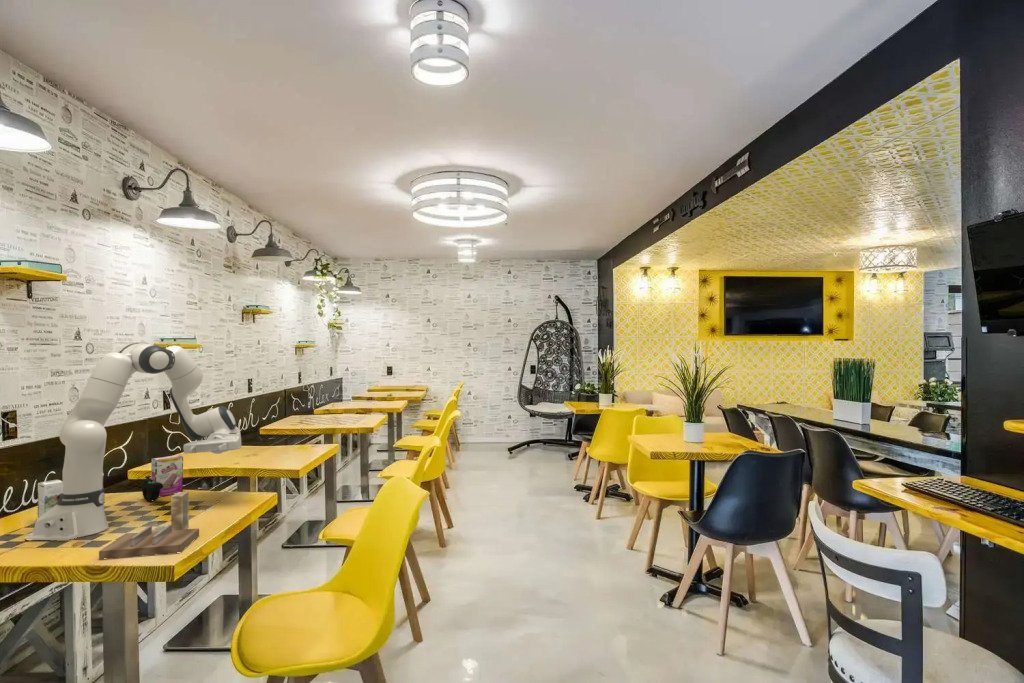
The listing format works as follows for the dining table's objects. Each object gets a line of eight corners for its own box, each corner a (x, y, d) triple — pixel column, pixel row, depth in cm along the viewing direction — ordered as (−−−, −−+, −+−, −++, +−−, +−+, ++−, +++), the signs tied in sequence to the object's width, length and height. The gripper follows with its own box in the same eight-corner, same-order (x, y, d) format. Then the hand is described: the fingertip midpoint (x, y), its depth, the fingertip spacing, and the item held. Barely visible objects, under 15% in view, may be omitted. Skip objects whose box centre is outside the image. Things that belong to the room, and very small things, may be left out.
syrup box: (56, 517, 206) (56, 479, 207) (63, 519, 203) (63, 480, 204) (37, 521, 202) (37, 482, 202) (44, 523, 199) (44, 484, 199)
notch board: (98, 559, 162) (98, 542, 162) (125, 541, 178) (125, 526, 178) (179, 553, 167) (179, 536, 167) (199, 535, 182) (199, 520, 182)
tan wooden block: (171, 535, 183) (171, 496, 184) (178, 529, 189) (178, 492, 189) (181, 534, 184) (181, 496, 184) (188, 528, 190) (188, 491, 190)
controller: (150, 498, 232) (150, 474, 233) (164, 502, 226) (164, 477, 226) (139, 500, 229) (139, 476, 229) (153, 504, 222) (153, 480, 222)
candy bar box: (155, 498, 231) (155, 460, 232) (150, 496, 234) (150, 458, 235) (183, 492, 240) (183, 455, 241) (178, 491, 243) (178, 454, 244)
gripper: (191, 436, 222) (175, 444, 208) (244, 432, 225) (232, 439, 211) (192, 452, 222) (176, 460, 208) (245, 447, 225) (233, 455, 211)
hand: (205, 450), depth 210 cm, fingers open, 8 cm apart
